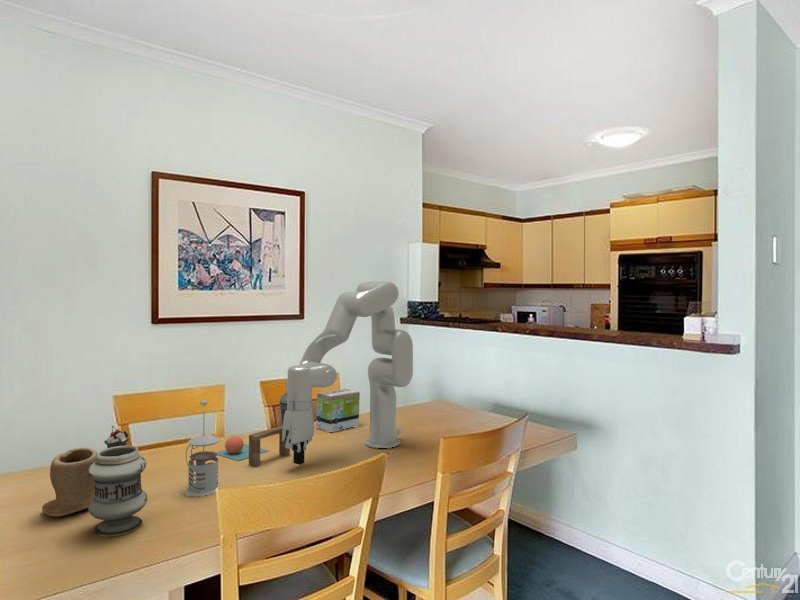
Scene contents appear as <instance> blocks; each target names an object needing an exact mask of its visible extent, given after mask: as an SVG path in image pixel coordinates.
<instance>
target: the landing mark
mask: <svg viewBox="0 0 800 600" xmlns="http://www.w3.org/2000/svg"><path fill="white" fill-rule="evenodd" d="M267 451H268V452H270V450H269V449H266V448H261V447H260V455H261V453H262V454H264V453H267ZM216 453H217V456H220V457H223V458H227V459H229V460H234V461H237V462H240V461H244V460H246V459H249V444H245V443H244V445H243V449H242V450H241V451H240V452H239V453H237V454H230V453H229V452H227V450H226V449H223V450H220V451H217V452H216Z"/></svg>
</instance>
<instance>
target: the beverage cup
mask: <svg viewBox="0 0 800 600" xmlns="http://www.w3.org/2000/svg"><path fill="white" fill-rule="evenodd" d="M285 389H286V392H285V393H283V394H282V395H281V396H280V398H279V407H280V415H281V418H280V419H281V426H283V420H284V415H285V411H287V380H285Z"/></svg>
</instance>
